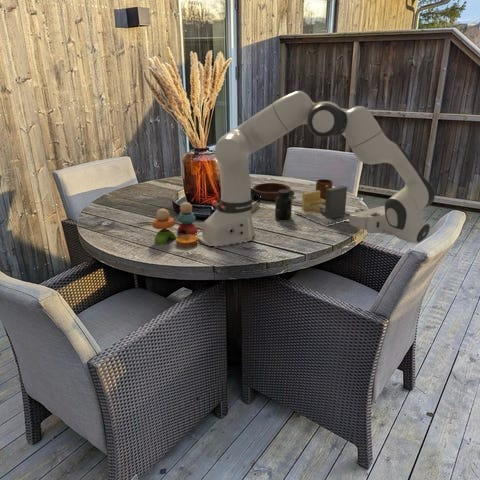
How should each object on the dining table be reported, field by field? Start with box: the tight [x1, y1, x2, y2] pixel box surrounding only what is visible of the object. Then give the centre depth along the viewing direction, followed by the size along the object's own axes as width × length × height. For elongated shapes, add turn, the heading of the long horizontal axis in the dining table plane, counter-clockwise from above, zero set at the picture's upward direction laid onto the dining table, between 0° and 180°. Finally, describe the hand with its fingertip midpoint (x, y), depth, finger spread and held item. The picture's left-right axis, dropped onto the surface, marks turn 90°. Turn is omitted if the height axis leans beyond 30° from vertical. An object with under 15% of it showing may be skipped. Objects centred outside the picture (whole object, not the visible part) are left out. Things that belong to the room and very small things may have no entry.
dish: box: [252, 182, 295, 201], centre depth 214 cm, size 18×22×5 cm
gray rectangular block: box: [321, 185, 348, 219], centre depth 182 cm, size 9×6×12 cm
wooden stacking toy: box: [152, 201, 199, 247], centre depth 165 cm, size 18×17×12 cm
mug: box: [315, 178, 333, 200], centre depth 205 cm, size 12×8×9 cm, turn 2°
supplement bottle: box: [274, 190, 293, 221], centre depth 184 cm, size 7×7×12 cm
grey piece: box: [294, 190, 355, 225], centre depth 186 cm, size 16×20×8 cm
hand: (357, 210), depth 171 cm, fingers closed
